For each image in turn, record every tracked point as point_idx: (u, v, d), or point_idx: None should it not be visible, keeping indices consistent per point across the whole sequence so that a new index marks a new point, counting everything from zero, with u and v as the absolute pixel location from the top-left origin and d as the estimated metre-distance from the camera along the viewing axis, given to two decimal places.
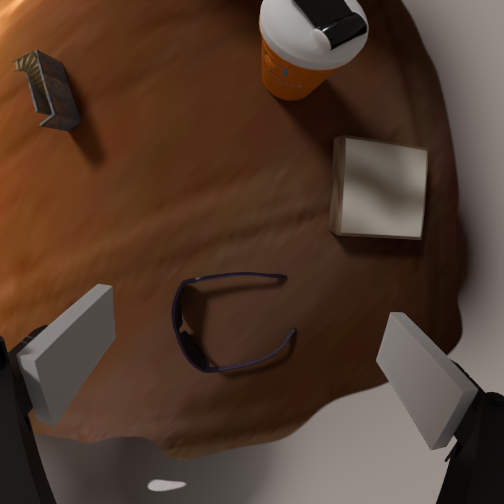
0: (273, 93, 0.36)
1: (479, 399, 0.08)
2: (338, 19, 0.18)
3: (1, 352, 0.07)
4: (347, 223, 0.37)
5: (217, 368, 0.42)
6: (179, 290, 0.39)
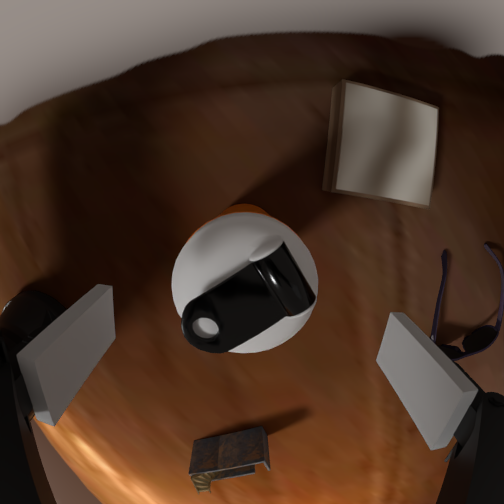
0: None
1: (479, 399, 0.08)
2: (272, 288, 0.16)
3: (1, 352, 0.07)
4: (421, 197, 0.31)
5: (498, 321, 0.36)
6: None
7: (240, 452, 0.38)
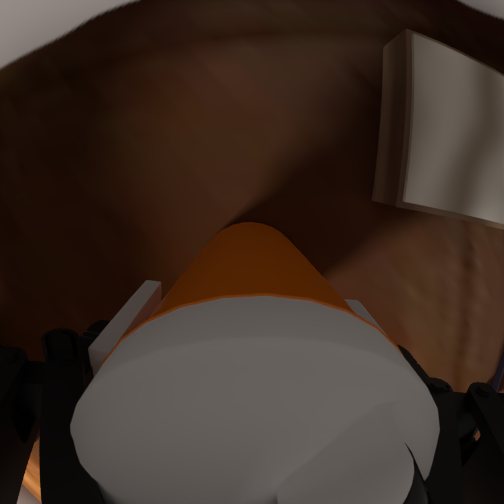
0: None
1: None
2: None
3: (74, 348, 0.08)
4: None
5: None
6: None
7: None
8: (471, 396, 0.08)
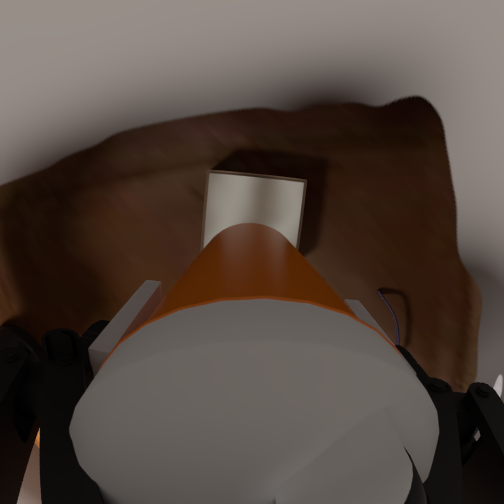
0: None
1: None
2: None
3: (74, 348, 0.08)
4: None
5: None
6: None
7: None
8: (471, 396, 0.08)
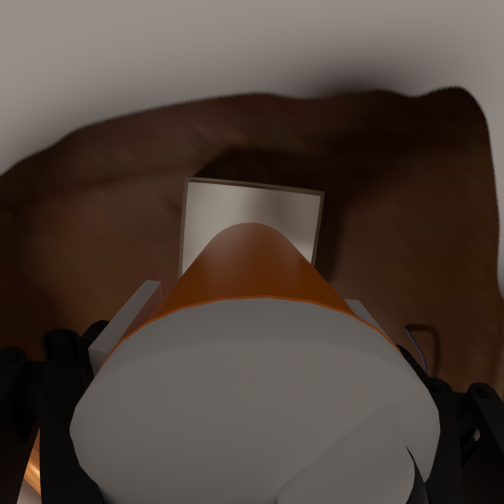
0: None
1: None
2: None
3: (74, 348, 0.08)
4: None
5: None
6: None
7: None
8: (471, 396, 0.08)
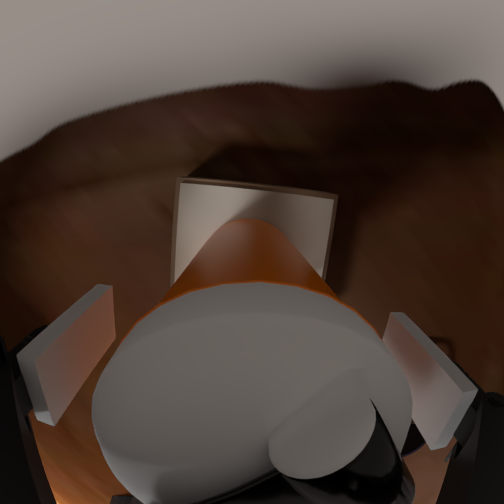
0: None
1: (479, 399, 0.08)
2: None
3: (1, 352, 0.07)
4: None
5: None
6: None
7: None
8: None
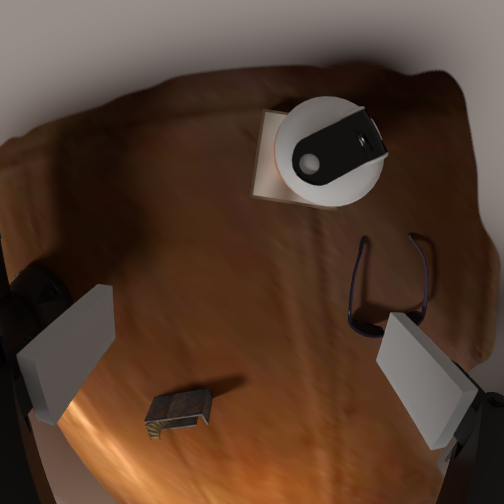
0: None
1: (479, 399, 0.08)
2: (359, 137, 0.21)
3: (1, 352, 0.07)
4: None
5: (423, 307, 0.46)
6: (354, 328, 0.46)
7: (186, 406, 0.50)
8: None
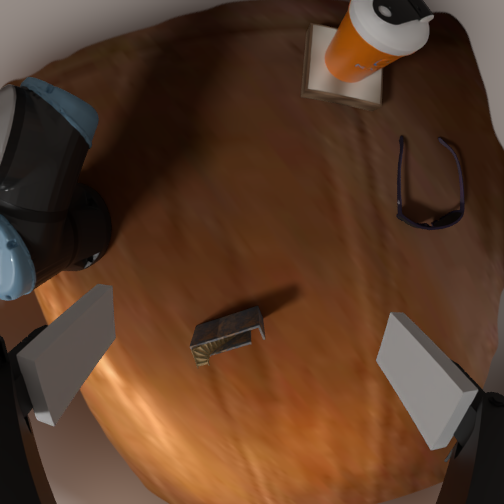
0: None
1: (479, 399, 0.08)
2: (413, 2, 0.20)
3: (1, 352, 0.07)
4: (373, 97, 0.41)
5: (461, 203, 0.46)
6: (405, 218, 0.46)
7: (238, 324, 0.49)
8: None
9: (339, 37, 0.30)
